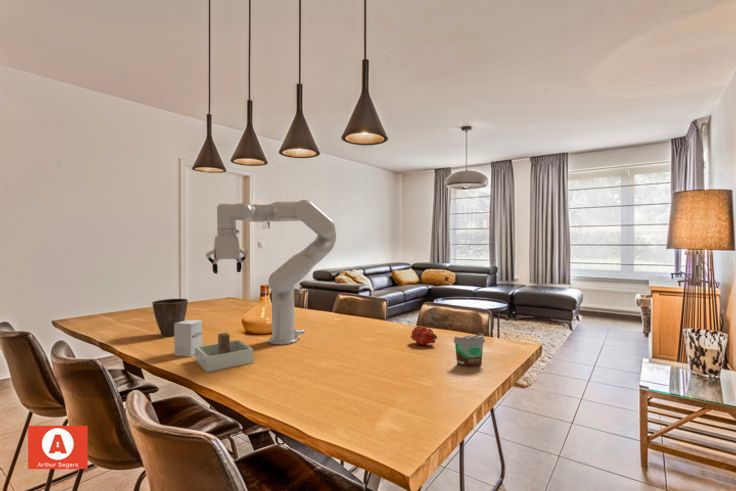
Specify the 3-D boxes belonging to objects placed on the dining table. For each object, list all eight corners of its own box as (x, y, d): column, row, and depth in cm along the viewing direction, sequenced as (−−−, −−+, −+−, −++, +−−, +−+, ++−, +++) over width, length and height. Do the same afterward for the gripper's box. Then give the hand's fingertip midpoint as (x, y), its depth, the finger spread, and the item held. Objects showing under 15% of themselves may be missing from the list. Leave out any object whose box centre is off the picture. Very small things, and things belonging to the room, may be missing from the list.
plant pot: (149, 334, 181) (148, 300, 181) (182, 329, 191) (182, 297, 191) (157, 340, 170) (157, 304, 170) (193, 334, 180) (192, 300, 180)
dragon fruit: (411, 345, 165) (435, 354, 157) (403, 337, 159) (428, 346, 151) (419, 327, 168) (443, 335, 160) (412, 319, 162) (436, 327, 154)
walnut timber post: (227, 357, 142) (226, 332, 142) (229, 359, 138) (229, 334, 138) (218, 358, 140) (218, 334, 140) (221, 361, 137) (220, 336, 137)
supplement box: (191, 356, 146) (190, 323, 146) (173, 355, 147) (173, 323, 147) (203, 351, 153) (202, 319, 153) (186, 350, 154) (186, 319, 154)
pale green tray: (238, 352, 151) (238, 339, 151) (253, 362, 138) (253, 349, 138) (195, 360, 141) (195, 346, 141) (206, 372, 128) (206, 357, 128)
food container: (465, 370, 128) (465, 340, 128) (453, 365, 133) (453, 336, 133) (493, 364, 134) (492, 336, 134) (480, 359, 139) (480, 332, 139)
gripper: (243, 233, 172) (244, 271, 173) (203, 232, 162) (203, 273, 162) (249, 232, 166) (250, 272, 167) (207, 232, 156) (208, 274, 156)
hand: (227, 272), depth 165 cm, fingers open, 9 cm apart
